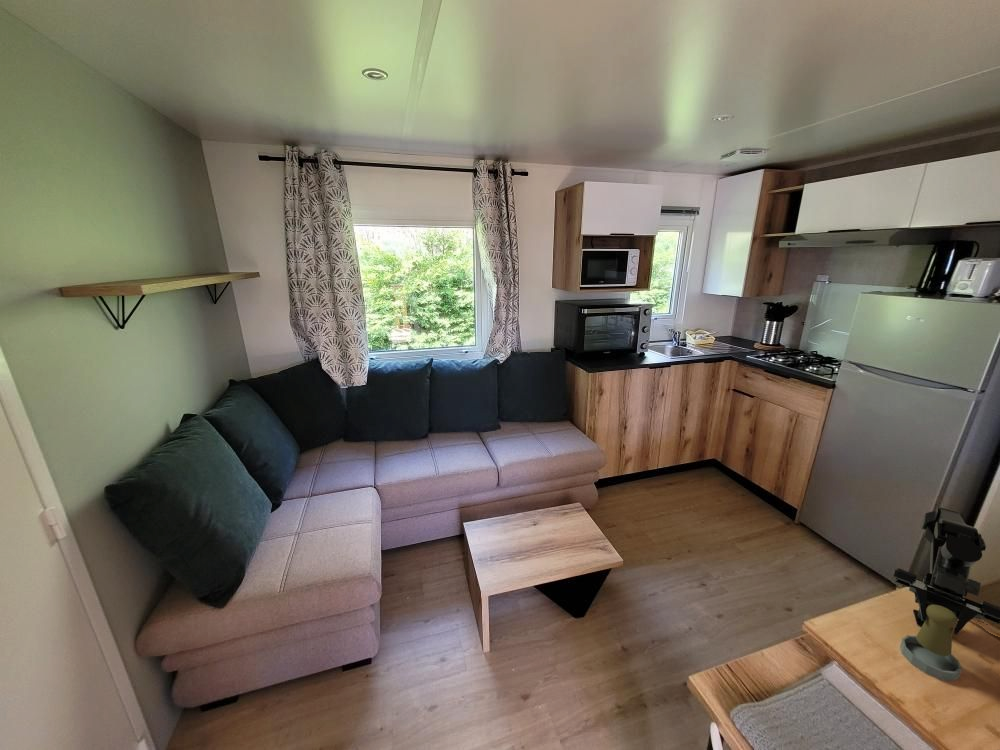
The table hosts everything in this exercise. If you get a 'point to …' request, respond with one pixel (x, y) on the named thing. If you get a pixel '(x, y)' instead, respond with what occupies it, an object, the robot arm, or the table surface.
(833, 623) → the table surface
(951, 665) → the gray bowl
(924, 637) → the cork
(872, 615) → the table surface
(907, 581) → the robot arm
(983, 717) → the table surface
